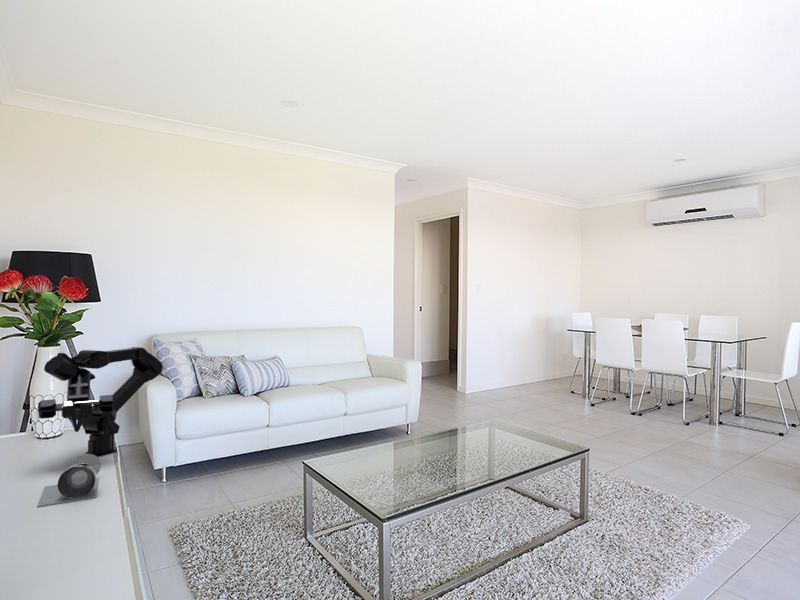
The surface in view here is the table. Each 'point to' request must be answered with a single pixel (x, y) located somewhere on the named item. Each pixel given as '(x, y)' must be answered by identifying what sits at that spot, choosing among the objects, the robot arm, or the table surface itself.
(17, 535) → the table surface
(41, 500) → the placemat
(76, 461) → the wine glass
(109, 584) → the table surface
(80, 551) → the table surface
